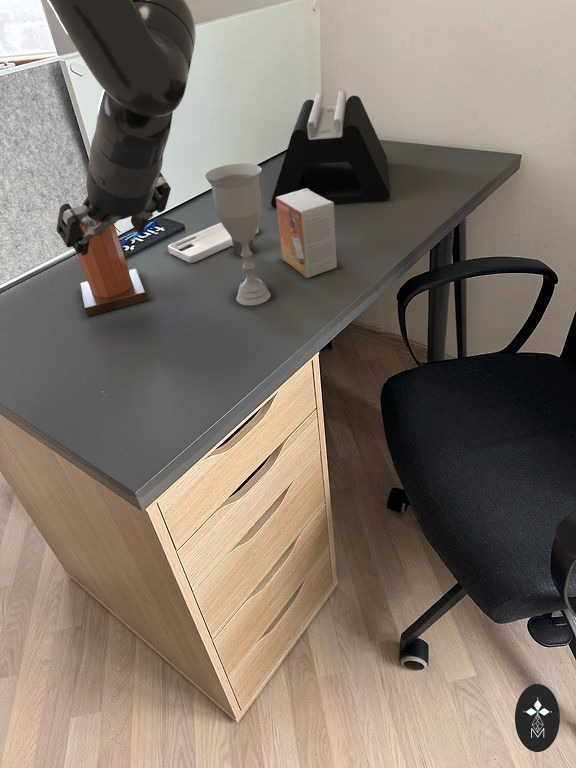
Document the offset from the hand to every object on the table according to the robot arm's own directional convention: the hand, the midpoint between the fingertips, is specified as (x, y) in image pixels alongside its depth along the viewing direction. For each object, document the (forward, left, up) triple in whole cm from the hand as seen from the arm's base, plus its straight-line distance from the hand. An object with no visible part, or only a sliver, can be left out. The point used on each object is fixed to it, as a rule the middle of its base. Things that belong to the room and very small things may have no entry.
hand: (109, 238), depth 77 cm
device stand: (+46, +30, -11) cm, 56 cm away
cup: (-2, +6, -10) cm, 11 cm away
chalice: (+17, -6, -11) cm, 22 cm away
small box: (+28, -1, -11) cm, 30 cm away
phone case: (+17, +16, -11) cm, 26 cm away
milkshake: (+20, +9, -11) cm, 25 cm away
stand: (-2, +6, -11) cm, 13 cm away
